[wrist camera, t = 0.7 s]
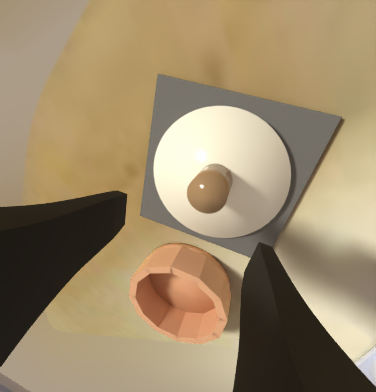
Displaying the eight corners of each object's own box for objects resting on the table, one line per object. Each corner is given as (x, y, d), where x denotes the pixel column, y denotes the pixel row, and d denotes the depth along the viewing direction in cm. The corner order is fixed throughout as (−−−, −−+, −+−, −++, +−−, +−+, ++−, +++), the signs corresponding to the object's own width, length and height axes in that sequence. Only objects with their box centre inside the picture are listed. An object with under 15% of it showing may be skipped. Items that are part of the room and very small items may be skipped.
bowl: (243, 265, 22) (240, 295, 18) (215, 323, 27) (209, 356, 23) (152, 229, 24) (134, 251, 20) (142, 290, 29) (126, 316, 25)
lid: (319, 127, 15) (338, 134, 11) (258, 251, 20) (257, 283, 16) (167, 90, 17) (142, 86, 13) (149, 211, 22) (128, 231, 19)
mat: (339, 116, 14) (341, 116, 14) (264, 260, 21) (264, 262, 20) (159, 74, 17) (157, 73, 16) (141, 213, 23) (140, 215, 23)
